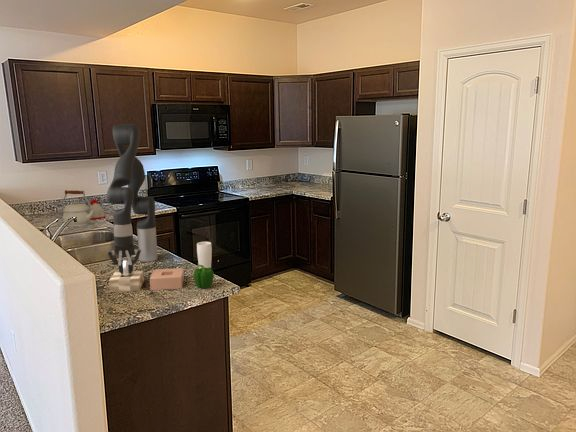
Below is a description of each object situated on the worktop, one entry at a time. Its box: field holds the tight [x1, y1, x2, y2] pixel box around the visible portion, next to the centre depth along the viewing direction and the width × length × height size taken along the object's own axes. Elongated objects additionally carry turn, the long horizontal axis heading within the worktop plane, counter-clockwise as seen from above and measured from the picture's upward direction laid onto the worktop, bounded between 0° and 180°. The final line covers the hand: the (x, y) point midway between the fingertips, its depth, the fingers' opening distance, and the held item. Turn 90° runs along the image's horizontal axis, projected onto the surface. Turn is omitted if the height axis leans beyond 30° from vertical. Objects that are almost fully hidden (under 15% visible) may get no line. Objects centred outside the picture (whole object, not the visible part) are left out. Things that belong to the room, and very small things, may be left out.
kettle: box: [60, 189, 95, 228], centre depth 318 cm, size 25×18×25 cm
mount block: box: [108, 270, 145, 293], centre depth 192 cm, size 12×12×5 cm
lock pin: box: [122, 258, 130, 277], centre depth 191 cm, size 3×3×12 cm
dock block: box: [149, 267, 185, 291], centre depth 195 cm, size 13×13×5 cm
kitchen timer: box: [87, 198, 106, 221], centre depth 343 cm, size 14×14×15 cm
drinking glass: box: [196, 241, 213, 269], centre depth 207 cm, size 7×7×15 cm
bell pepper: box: [193, 264, 215, 289], centre depth 191 cm, size 8×8×10 cm
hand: (126, 272), depth 191 cm, fingers closed on lock pin, 3 cm apart
